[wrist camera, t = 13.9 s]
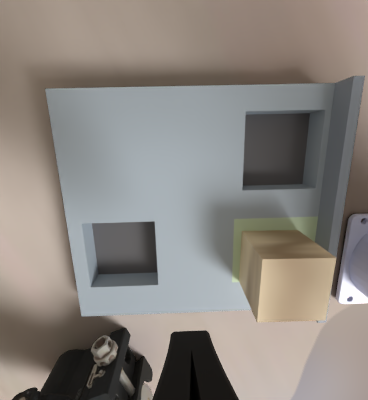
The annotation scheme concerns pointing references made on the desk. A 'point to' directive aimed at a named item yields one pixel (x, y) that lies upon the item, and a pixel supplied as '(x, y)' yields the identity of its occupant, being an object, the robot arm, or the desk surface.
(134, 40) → the desk surface
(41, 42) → the desk surface
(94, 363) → the scope
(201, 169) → the board
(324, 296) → the block
